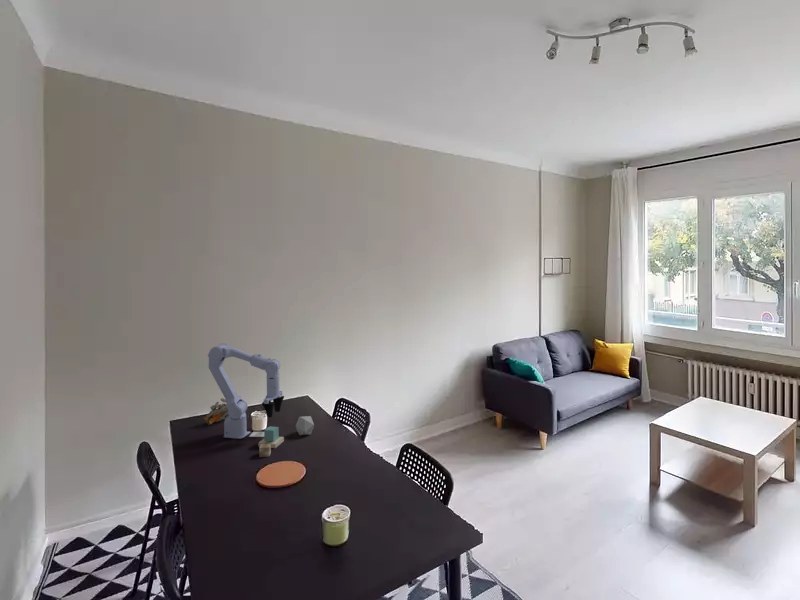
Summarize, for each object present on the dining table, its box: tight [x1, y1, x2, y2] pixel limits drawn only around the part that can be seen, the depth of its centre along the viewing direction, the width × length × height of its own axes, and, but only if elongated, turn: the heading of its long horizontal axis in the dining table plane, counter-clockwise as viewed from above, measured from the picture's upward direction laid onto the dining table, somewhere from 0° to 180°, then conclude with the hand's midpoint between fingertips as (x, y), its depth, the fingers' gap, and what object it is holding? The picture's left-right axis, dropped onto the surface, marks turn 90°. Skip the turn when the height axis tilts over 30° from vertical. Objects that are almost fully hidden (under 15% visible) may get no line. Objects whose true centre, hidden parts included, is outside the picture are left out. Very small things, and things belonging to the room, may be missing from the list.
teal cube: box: [263, 425, 280, 442], centre depth 189 cm, size 4×4×5 cm
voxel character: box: [203, 398, 228, 426], centre depth 215 cm, size 11×10×15 cm
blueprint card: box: [248, 431, 264, 438], centre depth 200 cm, size 8×6×1 cm
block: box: [258, 443, 272, 458], centre depth 178 cm, size 4×4×4 cm
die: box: [295, 415, 315, 436], centre depth 201 cm, size 8×9×10 cm
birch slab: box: [258, 436, 285, 449], centre depth 189 cm, size 8×8×2 cm
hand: (273, 414), depth 199 cm, fingers open, 7 cm apart
